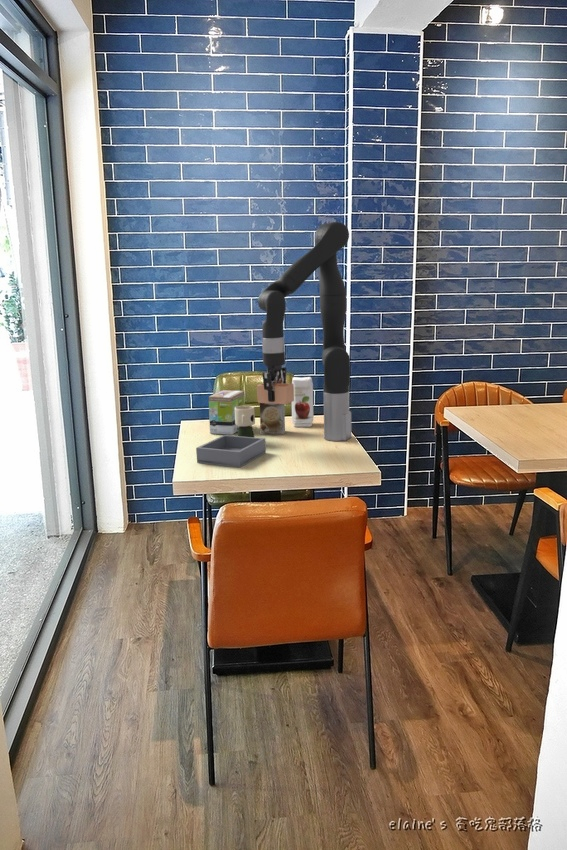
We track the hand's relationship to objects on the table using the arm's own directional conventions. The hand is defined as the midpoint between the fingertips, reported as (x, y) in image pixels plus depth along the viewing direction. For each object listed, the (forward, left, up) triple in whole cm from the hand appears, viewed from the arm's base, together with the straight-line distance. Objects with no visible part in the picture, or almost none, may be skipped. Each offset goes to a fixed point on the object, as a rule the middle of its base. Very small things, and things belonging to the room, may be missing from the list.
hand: (275, 399), depth 224 cm
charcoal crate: (+9, +16, -17) cm, 25 cm away
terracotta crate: (0, 0, -1) cm, 1 cm away
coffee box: (+11, -19, -17) cm, 28 cm away
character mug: (+14, -3, -17) cm, 23 cm away
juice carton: (+5, -34, -17) cm, 38 cm away
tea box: (+30, -18, -17) cm, 39 cm away
